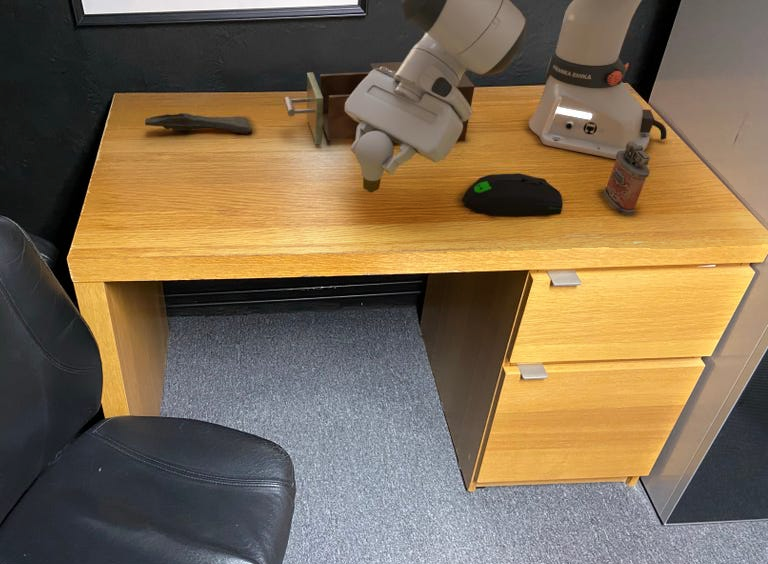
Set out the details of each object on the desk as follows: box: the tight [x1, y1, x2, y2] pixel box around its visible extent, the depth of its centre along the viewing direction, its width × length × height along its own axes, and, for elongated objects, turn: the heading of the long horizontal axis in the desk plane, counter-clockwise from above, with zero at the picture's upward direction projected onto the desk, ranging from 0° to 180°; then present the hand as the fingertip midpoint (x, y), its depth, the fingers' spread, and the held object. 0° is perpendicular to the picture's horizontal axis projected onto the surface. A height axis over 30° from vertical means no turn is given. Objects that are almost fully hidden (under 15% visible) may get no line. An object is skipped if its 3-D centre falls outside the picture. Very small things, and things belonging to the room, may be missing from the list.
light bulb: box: [354, 131, 395, 194], centre depth 108 cm, size 6×6×10 cm
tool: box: [144, 112, 253, 134], centre depth 137 cm, size 21×8×3 cm, turn 101°
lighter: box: [602, 142, 651, 216], centre depth 113 cm, size 8×3×10 cm, turn 5°
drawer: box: [283, 71, 374, 145], centre depth 133 cm, size 20×12×9 cm, turn 97°
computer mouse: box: [461, 172, 564, 218], centre depth 117 cm, size 11×16×4 cm
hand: (370, 162), depth 108 cm, fingers closed on light bulb, 6 cm apart
